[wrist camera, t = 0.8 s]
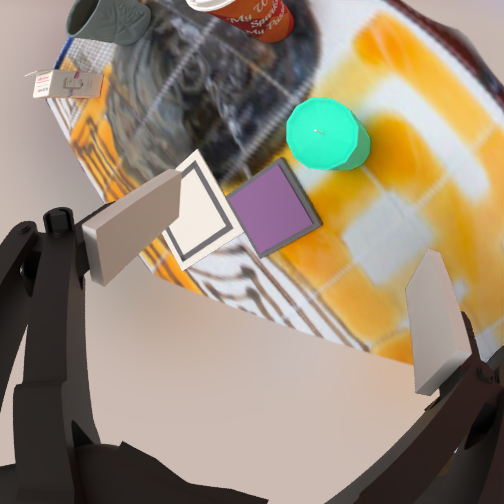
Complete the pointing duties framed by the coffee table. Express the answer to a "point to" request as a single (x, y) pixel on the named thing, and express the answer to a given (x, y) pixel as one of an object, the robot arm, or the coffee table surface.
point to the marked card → (200, 215)
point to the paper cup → (251, 16)
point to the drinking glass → (108, 20)
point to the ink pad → (273, 208)
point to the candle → (327, 136)
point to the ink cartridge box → (66, 84)
